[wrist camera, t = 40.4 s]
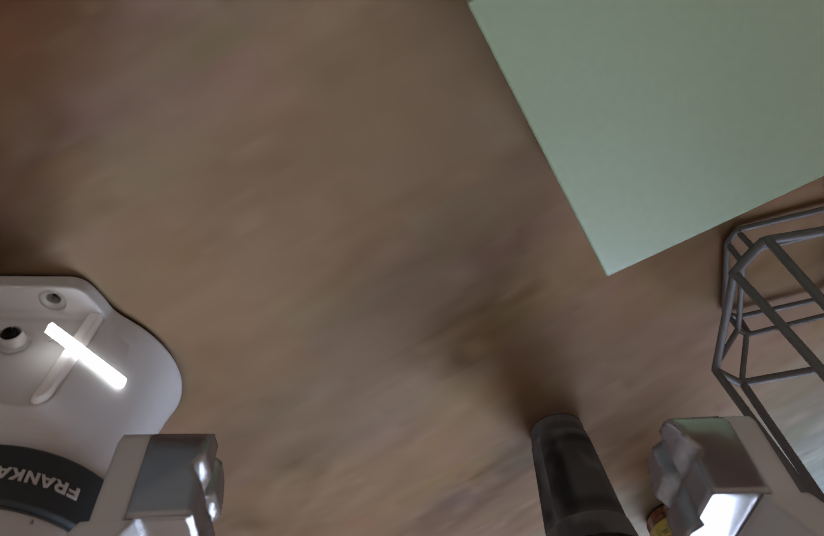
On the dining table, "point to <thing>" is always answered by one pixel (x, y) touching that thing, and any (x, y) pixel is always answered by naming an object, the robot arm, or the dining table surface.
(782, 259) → the geometric lantern
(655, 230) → the cabinet
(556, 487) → the beverage cup
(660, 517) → the sauce bottle
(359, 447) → the dining table surface
